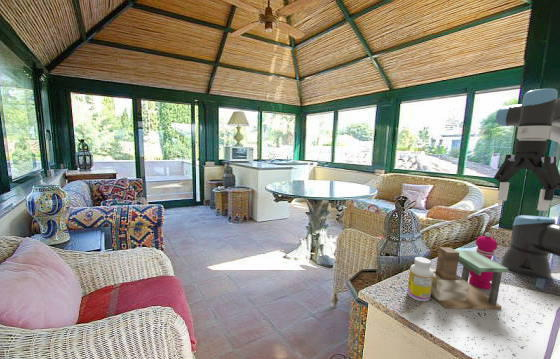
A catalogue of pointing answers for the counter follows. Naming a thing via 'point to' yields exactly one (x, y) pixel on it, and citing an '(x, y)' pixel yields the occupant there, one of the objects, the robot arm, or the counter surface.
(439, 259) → the walnut peg
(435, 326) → the counter surface
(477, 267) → the awning station
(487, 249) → the pepper mill
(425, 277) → the supplement bottle
